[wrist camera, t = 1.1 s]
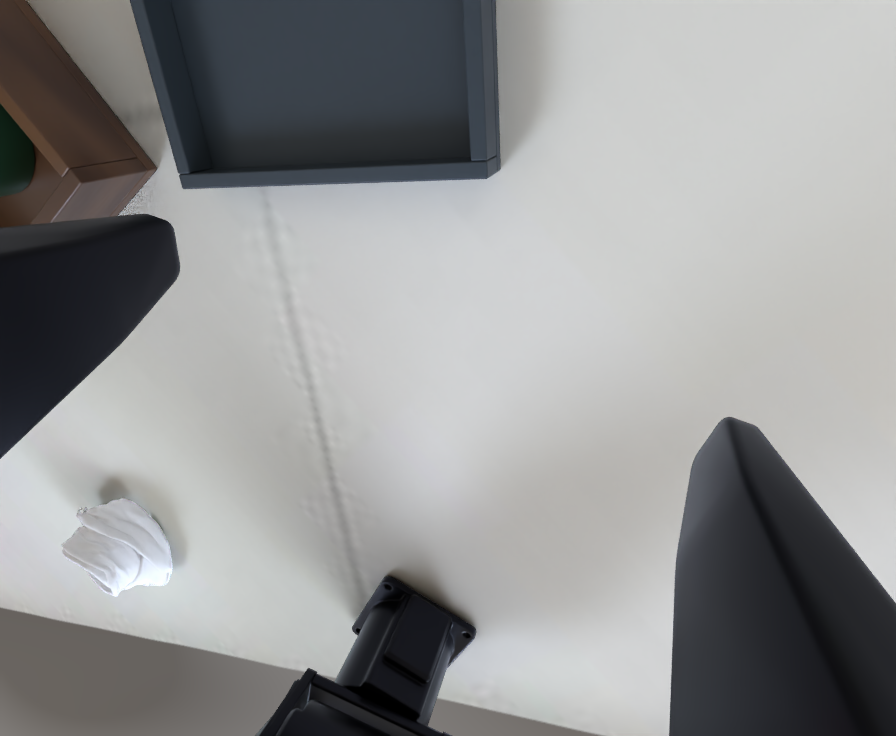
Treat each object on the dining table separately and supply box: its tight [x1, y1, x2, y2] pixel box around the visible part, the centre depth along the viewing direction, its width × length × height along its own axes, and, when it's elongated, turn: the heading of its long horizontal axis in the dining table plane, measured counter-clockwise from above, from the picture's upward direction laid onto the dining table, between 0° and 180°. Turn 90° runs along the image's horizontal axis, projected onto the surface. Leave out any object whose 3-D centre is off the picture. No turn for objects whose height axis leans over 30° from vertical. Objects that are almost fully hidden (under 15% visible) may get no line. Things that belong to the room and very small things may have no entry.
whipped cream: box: [61, 497, 173, 597], centre depth 38 cm, size 8×7×5 cm
